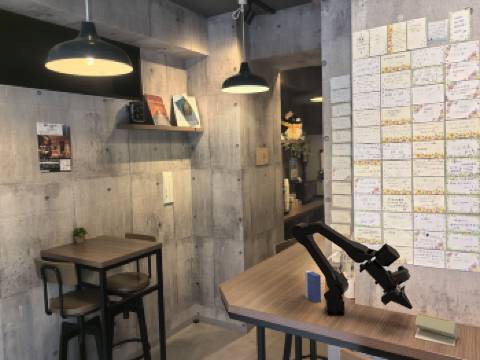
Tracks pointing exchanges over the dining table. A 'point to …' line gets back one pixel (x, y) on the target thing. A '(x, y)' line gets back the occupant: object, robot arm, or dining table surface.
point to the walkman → (313, 286)
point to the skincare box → (437, 325)
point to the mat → (434, 337)
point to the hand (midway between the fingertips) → (411, 308)
